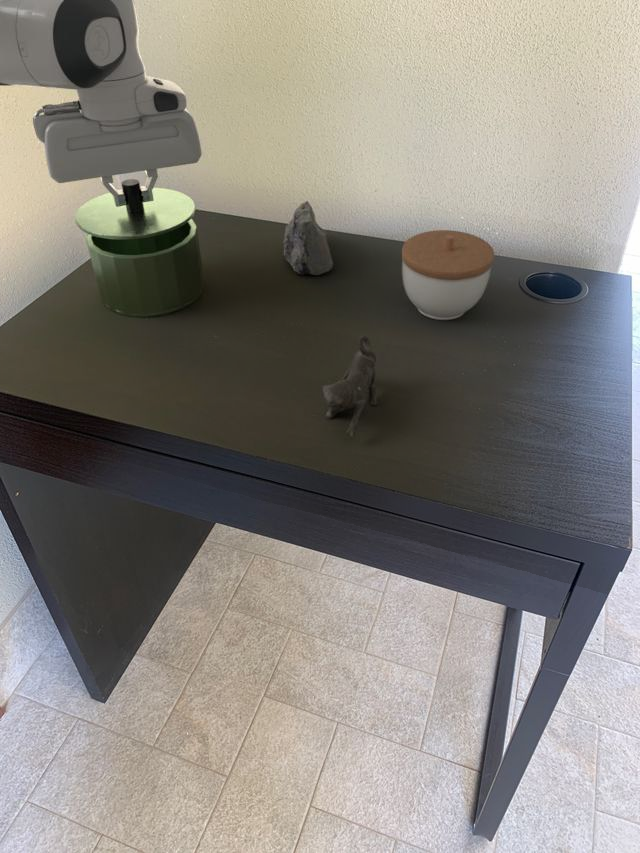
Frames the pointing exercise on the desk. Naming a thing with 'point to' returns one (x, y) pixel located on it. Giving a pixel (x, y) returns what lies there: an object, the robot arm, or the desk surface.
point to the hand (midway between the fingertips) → (134, 202)
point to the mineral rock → (306, 243)
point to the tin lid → (135, 213)
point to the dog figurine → (354, 385)
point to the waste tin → (148, 272)
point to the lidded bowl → (445, 272)
